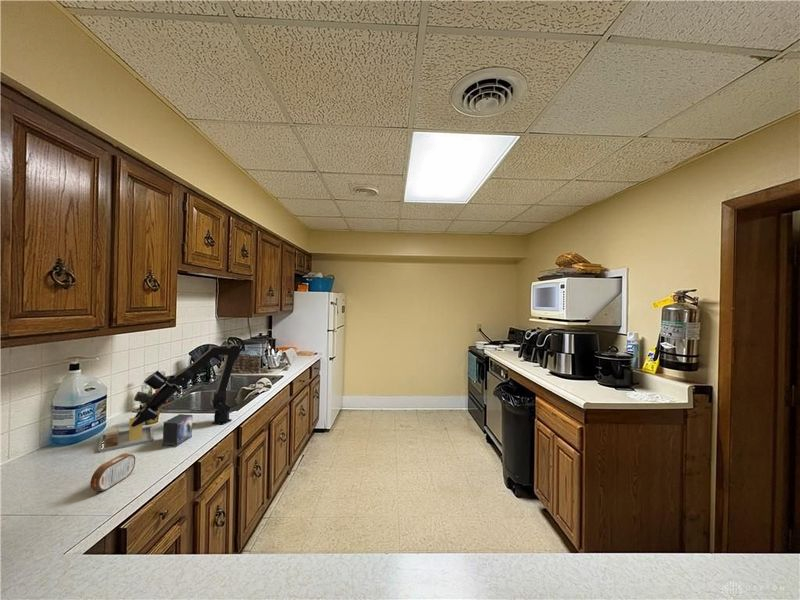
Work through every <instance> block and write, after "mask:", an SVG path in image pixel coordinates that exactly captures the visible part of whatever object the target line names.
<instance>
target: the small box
mask: <svg viewBox="0 0 800 600" xmlns="http://www.w3.org/2000/svg"><path fill="white" fill-rule="evenodd" d="M193 416H194V415H193V414H186V413H185V414H184V413H180V414H177V415H175V416H173V417H171V418H170V419H167V420H165V421H163V425H162V426H163V431H162V432H163V433H162V448H163V447H169V448H177V447H179V446H180V445H181V444H183V443H185V442H187V441H188V440H189V439H192V437H193V425H192V423H193Z"/></svg>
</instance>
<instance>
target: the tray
mask: <svg viewBox="0 0 800 600" xmlns="http://www.w3.org/2000/svg"><path fill="white" fill-rule="evenodd" d="M105 439H106V433H104V434H101V435H100V439H99V443H98V449H97V454H101V452H102V453H106V452H111V451H115V450H116V451H117V450H121V449H125V448H131V447H136V446H140V445H145V444H150V443H154V442H155V440H154V432H153V426H152V425H150V426H145V427H143V426H142V439H138V440H133V441H129V429H128V430H122V431H118V445H117V446H113V447H108V448H105ZM103 441H104V442H103ZM102 442H103V443H102ZM102 444H104V448H103V449H101V448H102Z"/></svg>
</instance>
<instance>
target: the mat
mask: <svg viewBox="0 0 800 600" xmlns="http://www.w3.org/2000/svg"><path fill="white" fill-rule="evenodd" d="M194 424H195V425H197V422H192V426H195V425H194ZM155 430H158V431H161V432H163V425H162V426H159V427H157V428H156V427H155Z"/></svg>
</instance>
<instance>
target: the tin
mask: <svg viewBox="0 0 800 600" xmlns="http://www.w3.org/2000/svg"><path fill="white" fill-rule="evenodd" d="M135 465H136V456H135V455H134V454H132V453H127V452H126V453H125V452H123V453H121V454H119V455H118V456H115V457H114V458H112V459H110V460H108V461H106V462H103V463H102V464H101V465H99V466H98V467H97V468H96V469H95V471H94V473H93V474H92V476H91V479H90V481H89V482H90V483H89V484H90V486H89V487H90V489H91V490H92V491H99V492H104V491H107V490H109V489H110V488H112V487H114V486H115V485H117V484H119V483H120V482H122V481H123V479H124V480H125V479H127V478H128V477H129V476H130V475H131V474H132V472H133V471H134V469H135ZM126 477H127V478H126Z"/></svg>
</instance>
